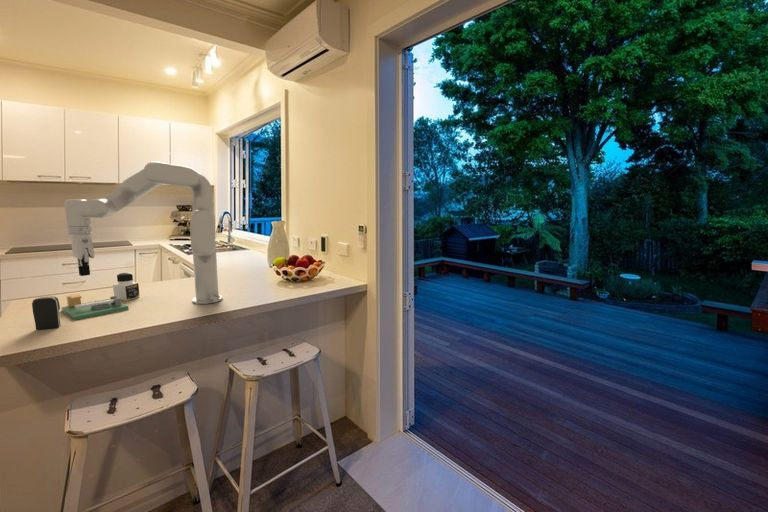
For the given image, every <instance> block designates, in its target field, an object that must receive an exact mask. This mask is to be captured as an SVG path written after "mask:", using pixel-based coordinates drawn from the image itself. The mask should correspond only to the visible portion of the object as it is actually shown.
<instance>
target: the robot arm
mask: <svg viewBox="0 0 768 512" xmlns="http://www.w3.org/2000/svg"><path fill="white" fill-rule="evenodd" d="M161 185H168V186H176V187H183V188H188V189H189V190H190V192H191V202H192V203H191V204H192V206H191V207H192V214H191V215H190V219H189V225H190V227H189V228H190V229H189V230H190V231H189V232H190V247H191V248H190V249H191V250H192V255H193V256H192V258H193V259H192V261H193V276H194V288H195V289H194V291H195V297H193V298H192V299H191V300H192V303H194V304H196V305H207V304H215V303H219V302H221V301H223V296H222V295H221V294H219V293H220V292H219V281H218V263H217V262H218V259H217V245H216V244H217V243H216V219H215V218H216V217H215V209H214V193H213V189H212V188H213V187H212V185H211V182H209V180H208V179H207V178H206V176H205V175H203V174H202V173H200V172H199V171H197V170H196V169H194V168H192V167H190V166H185V165H177V164H171V163H168V162H167V163H166V162H161V161H150V162H148V163H147V164H145V166H144V168H143V169H141V170H139V171H138V172H136V173H134V174H133V175H131V176H129V177H127V178H125V179H124V180H123V181H122V183H121V184H120V185H119V187H117V188H116V189H114V190H113V192H110V193H109V194H107V195H106V196H104V197H102V198H96V199H95V198H94V199H82V198H79V199H78V198H75V199H74V198H72V199H71V198H69V199H66V200H64V211H65V212H64V213H65V222H66V229H67V235H69V236H70V237H71V238H70V241H71V253H72V256H73V257H74V258H75V259H77V265H78V266H77V267H78V276H80V277H84V276H90V275H91V271H90V270H91V269H90V259H94V258H95V250H94V249H95V248H94V245H93V239H92V236H91V235H92V234H93V230H92V229H93V228H92V220H91V218H95V219H96V218H97V219H103V218H107V217H111V216H113V215H115V214H116V213H118V212H120V211H121V210H123V209H124V208H126V207H128V206H129V205H130V204H133V203H134V202H135V201H137V200H139V199H141V198H142V197H144V196H145V195H147V194H148V193H150V192H151V191H153V190H154V189H156V188H158V187H160V186H161Z"/></svg>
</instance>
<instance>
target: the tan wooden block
mask: <svg viewBox="0 0 768 512" xmlns="http://www.w3.org/2000/svg"><path fill="white" fill-rule="evenodd" d="M65 297H66V304H67V305H66V306H69V307H70V306H75V305H79V304H82V296H81V295H80V294H79V293H77V294H70V295H69V294H68V295H66V296H65Z"/></svg>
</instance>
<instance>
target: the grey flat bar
mask: <svg viewBox="0 0 768 512" xmlns="http://www.w3.org/2000/svg"><path fill="white" fill-rule="evenodd" d="M109 299H110V298H109ZM114 299H116V298H113V299H110V300H106V299H102V300H103V301H100V300H96V301H97V302H94V301H90V302H91V303H88V302H84V303H85V304H83V303H81V304H79V305H75V308H83V307H89V306H95V305H101V304H107V303H113V302H115V301H114Z"/></svg>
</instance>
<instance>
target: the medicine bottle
mask: <svg viewBox="0 0 768 512" xmlns="http://www.w3.org/2000/svg"><path fill="white" fill-rule="evenodd" d="M116 279H117V283H115V284H113V285H112V290H113V296H117V298H121V301H125V302H126V301H132V300H134V299H137V298H140V287H139V282H135V281H134V275H133V273H132V272H122V273H118V274H117V275H116Z"/></svg>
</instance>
